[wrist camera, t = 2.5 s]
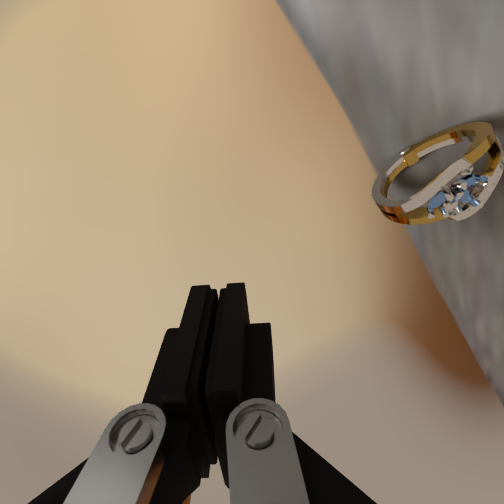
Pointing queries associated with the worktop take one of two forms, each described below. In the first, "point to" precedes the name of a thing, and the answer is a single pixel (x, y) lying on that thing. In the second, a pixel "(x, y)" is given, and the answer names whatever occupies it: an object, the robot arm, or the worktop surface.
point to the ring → (444, 177)
